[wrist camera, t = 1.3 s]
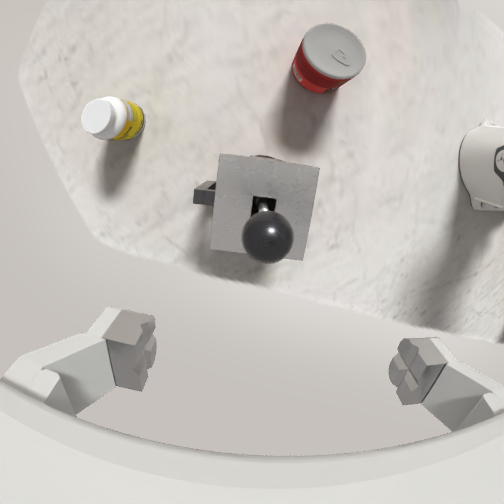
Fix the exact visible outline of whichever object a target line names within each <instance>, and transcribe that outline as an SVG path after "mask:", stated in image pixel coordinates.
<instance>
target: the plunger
mask: <svg viewBox="0 0 504 504" xmlns="http://www.w3.org/2000/svg"><path fill="white" fill-rule="evenodd" d="M275 203H276V199H275V198H268V197H260V196H253V200H252V208H251V215H250V218H249V219H248V220H247V222H246V223H245V225H244V227H243V230H242V235H241V239H242V245H243V248H244V250H245V251H246V253H247V254H248V255H249V256H250V257H251V258H252V259H254V260H255V261H257V262H260V263H265V264H271V263H276V262H278V261H280V260H282V259H283V258H285V257H286V256H287V255H288V254H289V252H290V251H291V249H292V247H293V243H294V231H293V228H292V226H291V224H290V222H289V221H288V220H287V219H286V218H285V217H284V216H283V215H281V214H279V213H277V212H274V210H275Z"/></svg>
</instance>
